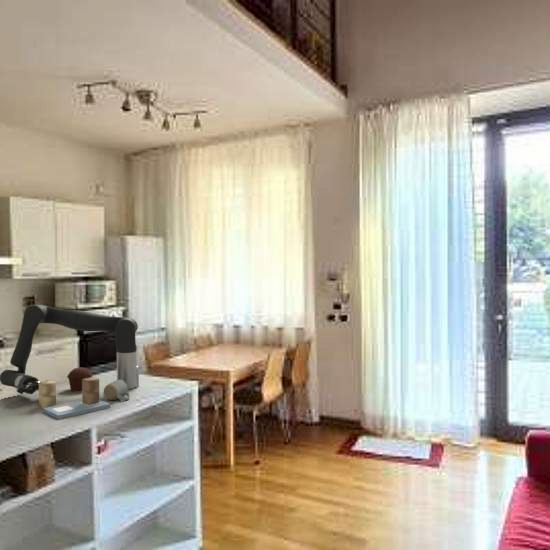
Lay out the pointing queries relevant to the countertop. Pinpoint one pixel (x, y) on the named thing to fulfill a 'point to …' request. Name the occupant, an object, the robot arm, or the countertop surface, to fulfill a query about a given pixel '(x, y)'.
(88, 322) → the robot arm
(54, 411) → the board
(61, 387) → the countertop surface
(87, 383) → the walnut pillar
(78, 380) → the muffin
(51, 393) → the oak pillar
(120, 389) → the ceramic mug
